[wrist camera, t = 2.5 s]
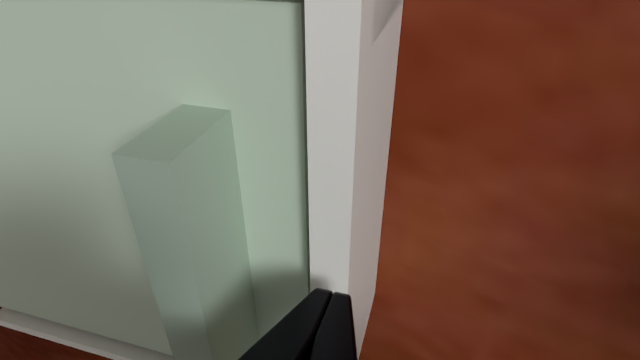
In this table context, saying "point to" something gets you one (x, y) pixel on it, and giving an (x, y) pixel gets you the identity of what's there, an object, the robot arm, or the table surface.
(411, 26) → the table surface
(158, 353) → the box
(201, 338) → the lid
